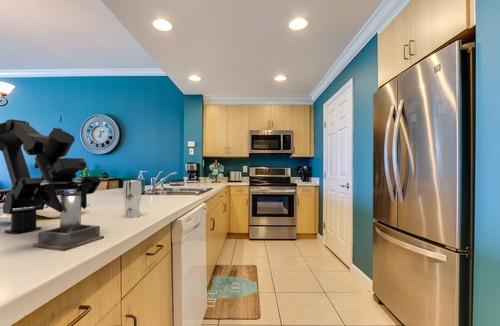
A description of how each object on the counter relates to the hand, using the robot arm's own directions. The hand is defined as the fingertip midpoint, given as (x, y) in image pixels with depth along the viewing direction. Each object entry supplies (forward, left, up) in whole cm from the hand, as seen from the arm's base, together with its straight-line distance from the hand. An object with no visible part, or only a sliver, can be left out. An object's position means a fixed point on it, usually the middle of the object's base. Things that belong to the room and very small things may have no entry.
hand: (73, 209), depth 63 cm
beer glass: (-11, +33, -9) cm, 36 cm away
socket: (-1, 0, -9) cm, 9 cm away
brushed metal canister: (-1, 0, -8) cm, 9 cm away
